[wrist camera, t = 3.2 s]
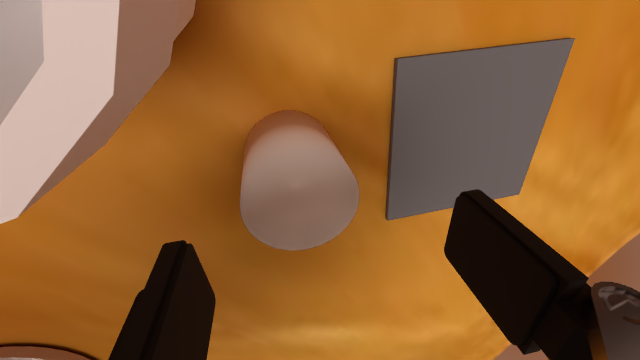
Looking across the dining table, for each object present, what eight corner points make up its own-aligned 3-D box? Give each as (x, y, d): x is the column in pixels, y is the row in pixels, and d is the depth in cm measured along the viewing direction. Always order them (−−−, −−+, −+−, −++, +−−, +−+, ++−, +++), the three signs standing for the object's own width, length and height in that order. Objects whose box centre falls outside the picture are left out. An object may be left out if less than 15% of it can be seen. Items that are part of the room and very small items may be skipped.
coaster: (515, 191, 24) (519, 194, 24) (385, 217, 22) (387, 220, 22) (568, 37, 18) (574, 38, 18) (394, 58, 16) (397, 59, 16)
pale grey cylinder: (332, 182, 20) (359, 238, 15) (253, 195, 19) (253, 260, 14) (327, 104, 17) (359, 140, 12) (234, 117, 16) (225, 162, 11)
